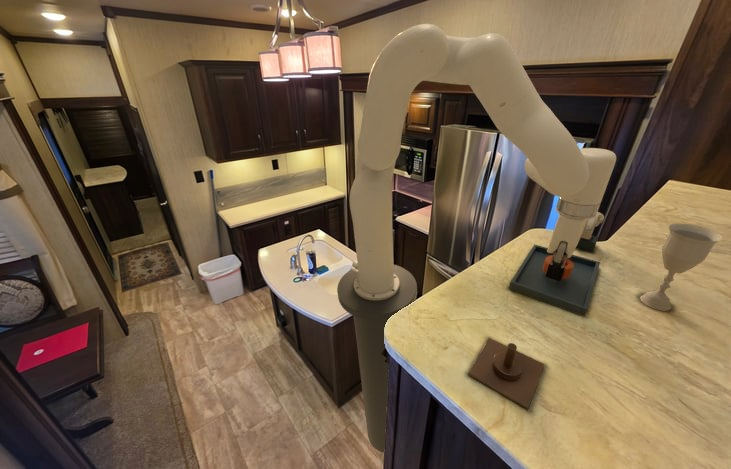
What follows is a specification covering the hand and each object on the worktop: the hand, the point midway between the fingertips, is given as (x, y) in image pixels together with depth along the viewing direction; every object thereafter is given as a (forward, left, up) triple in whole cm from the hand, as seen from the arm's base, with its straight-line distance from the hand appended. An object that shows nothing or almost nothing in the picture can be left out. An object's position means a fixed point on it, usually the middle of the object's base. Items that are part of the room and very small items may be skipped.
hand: (556, 271), depth 72 cm
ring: (0, 0, 0) cm, 0 cm away
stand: (-1, -34, -2) cm, 34 cm away
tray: (0, 0, -2) cm, 2 cm away
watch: (+3, +21, -2) cm, 21 cm away
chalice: (+19, +3, -2) cm, 19 cm away
